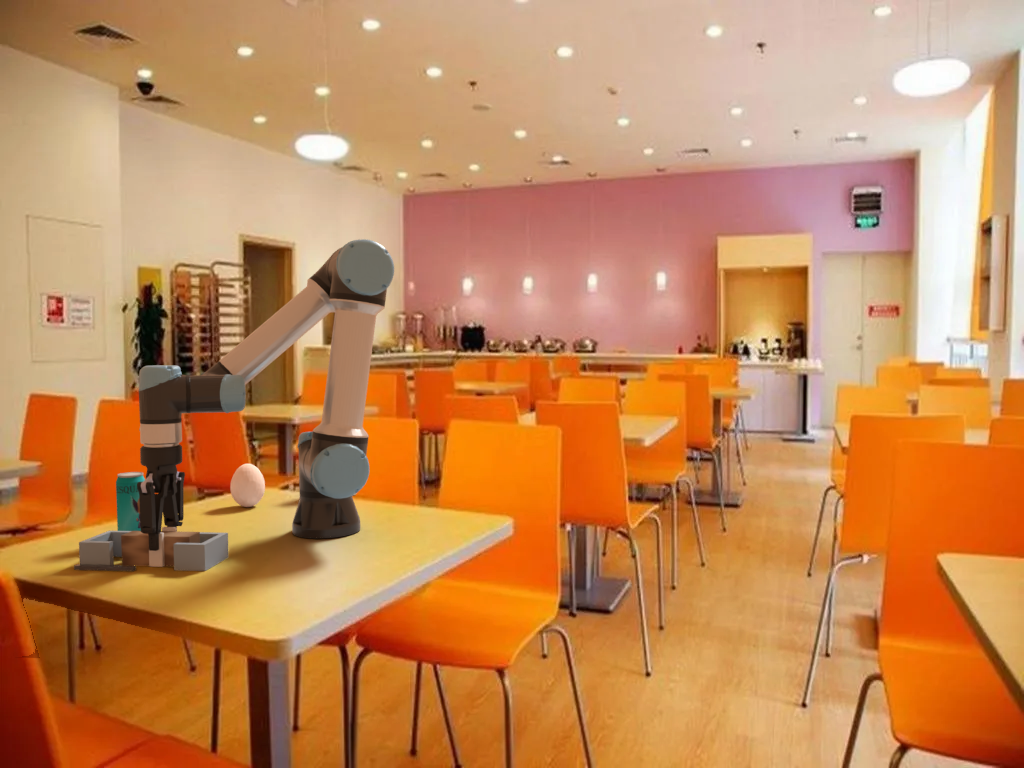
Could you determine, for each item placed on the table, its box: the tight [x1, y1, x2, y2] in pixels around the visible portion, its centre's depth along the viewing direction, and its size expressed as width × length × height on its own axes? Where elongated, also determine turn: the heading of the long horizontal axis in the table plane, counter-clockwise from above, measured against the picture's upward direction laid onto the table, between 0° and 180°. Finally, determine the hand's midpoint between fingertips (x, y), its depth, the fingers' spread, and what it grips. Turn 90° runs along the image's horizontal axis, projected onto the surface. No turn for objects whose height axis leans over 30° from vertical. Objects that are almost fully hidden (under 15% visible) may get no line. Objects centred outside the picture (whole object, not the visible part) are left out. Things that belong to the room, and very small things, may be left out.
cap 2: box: [173, 531, 229, 572], centre depth 157 cm, size 6×10×5 cm, turn 174°
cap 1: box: [78, 530, 131, 565], centre depth 160 cm, size 6×10×5 cm, turn 174°
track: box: [73, 563, 137, 572], centre depth 159 cm, size 12×12×1 cm
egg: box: [229, 463, 266, 508], centre depth 211 cm, size 9×9×12 cm
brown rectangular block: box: [121, 530, 201, 567], centre depth 158 cm, size 14×4×6 cm, turn 84°
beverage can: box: [115, 471, 146, 531], centre depth 175 cm, size 6×6×15 cm
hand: (163, 562), depth 158 cm, fingers open, 4 cm apart
